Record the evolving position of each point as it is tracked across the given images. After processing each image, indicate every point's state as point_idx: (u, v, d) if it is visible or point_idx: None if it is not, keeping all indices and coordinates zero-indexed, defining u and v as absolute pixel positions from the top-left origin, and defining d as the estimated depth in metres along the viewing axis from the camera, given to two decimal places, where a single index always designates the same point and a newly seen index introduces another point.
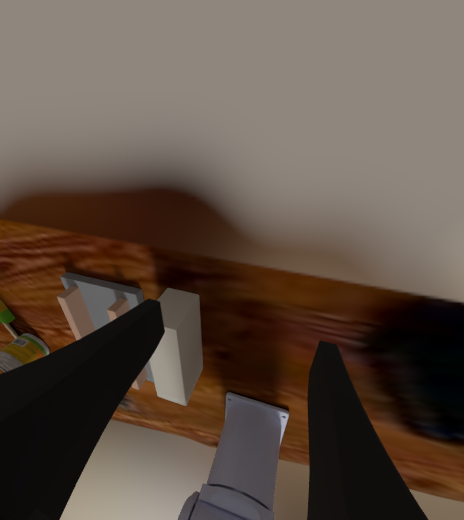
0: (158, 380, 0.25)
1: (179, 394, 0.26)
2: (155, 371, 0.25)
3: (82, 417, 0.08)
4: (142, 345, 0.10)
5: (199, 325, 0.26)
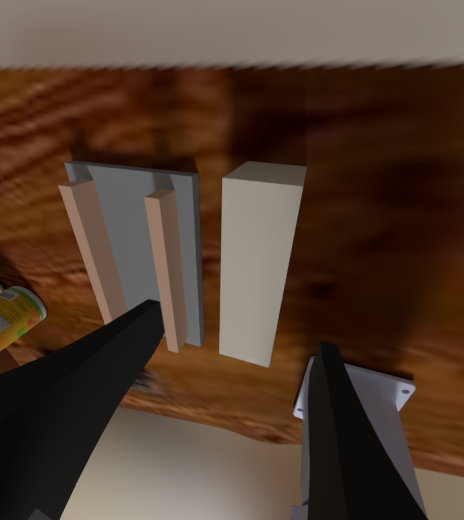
0: (228, 321, 0.15)
1: (262, 345, 0.15)
2: (227, 302, 0.14)
3: (82, 417, 0.08)
4: (142, 345, 0.10)
5: None
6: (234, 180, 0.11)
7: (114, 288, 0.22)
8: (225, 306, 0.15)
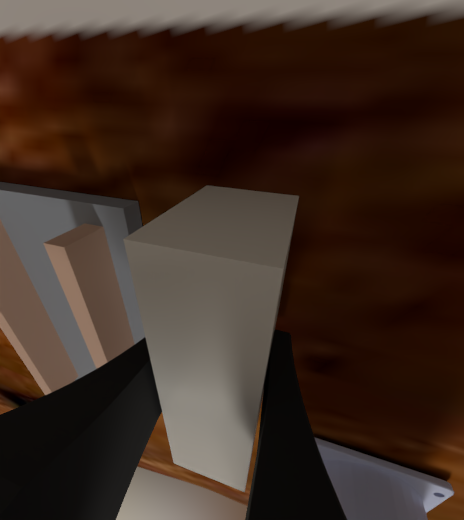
0: (178, 434, 0.10)
1: (232, 469, 0.10)
2: (172, 413, 0.09)
3: (129, 436, 0.07)
4: None
5: (281, 292, 0.10)
6: (146, 245, 0.05)
7: (48, 344, 0.16)
8: (170, 417, 0.09)
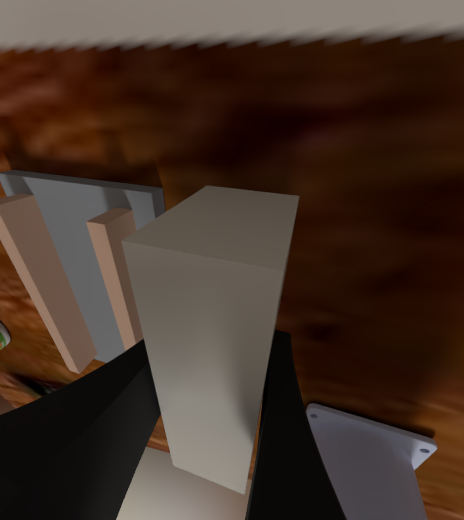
0: (178, 436, 0.10)
1: (232, 472, 0.10)
2: (171, 416, 0.09)
3: (129, 436, 0.07)
4: None
5: (281, 293, 0.10)
6: (144, 247, 0.05)
7: (73, 321, 0.18)
8: (170, 420, 0.09)
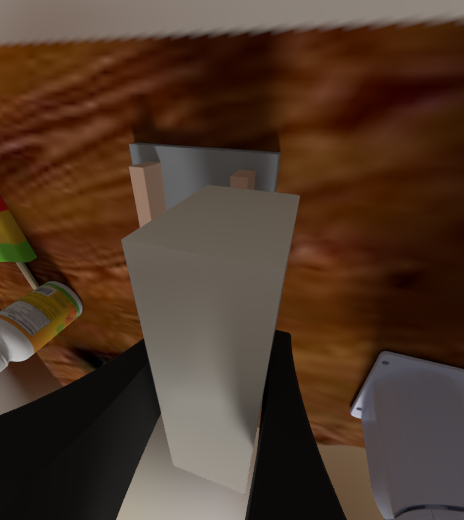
0: (178, 436, 0.10)
1: (232, 472, 0.10)
2: (171, 416, 0.09)
3: (129, 436, 0.07)
4: None
5: None
6: (144, 246, 0.05)
7: None
8: (170, 420, 0.09)
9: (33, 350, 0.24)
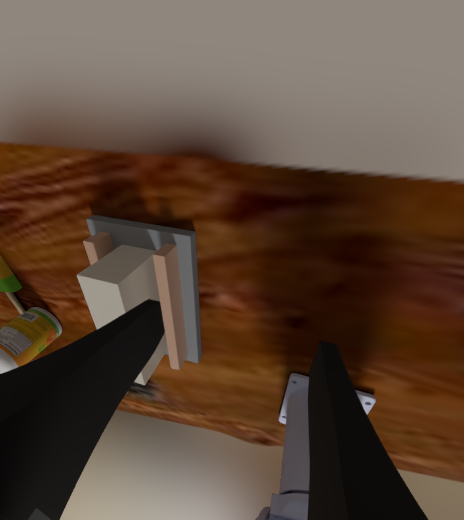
0: None
1: None
2: None
3: (82, 417, 0.08)
4: (142, 345, 0.10)
5: None
6: (83, 277, 0.17)
7: None
8: None
9: None
